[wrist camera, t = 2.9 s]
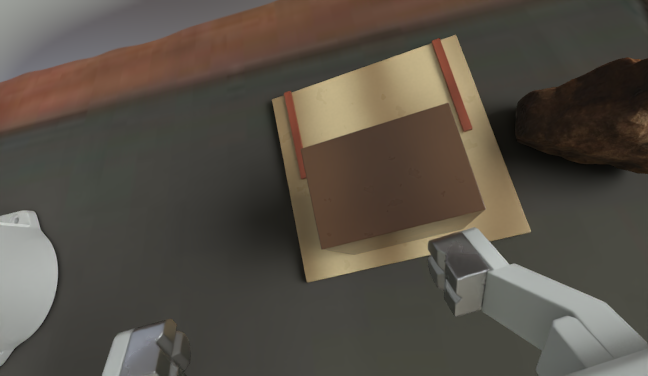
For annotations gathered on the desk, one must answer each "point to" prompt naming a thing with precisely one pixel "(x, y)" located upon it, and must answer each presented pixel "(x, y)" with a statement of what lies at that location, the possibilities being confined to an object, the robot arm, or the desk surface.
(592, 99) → the decorative rock
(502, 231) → the game board
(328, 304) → the desk surface
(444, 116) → the tall rectangular block
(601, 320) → the robot arm
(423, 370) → the desk surface
